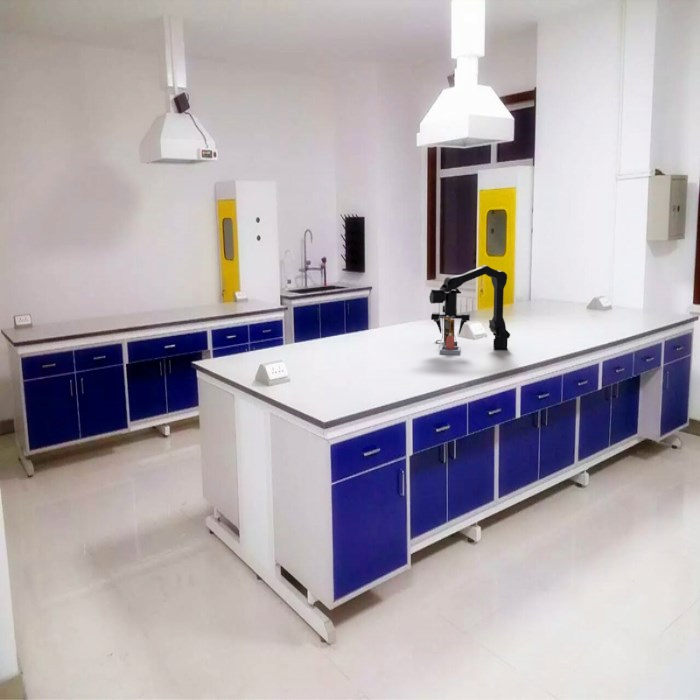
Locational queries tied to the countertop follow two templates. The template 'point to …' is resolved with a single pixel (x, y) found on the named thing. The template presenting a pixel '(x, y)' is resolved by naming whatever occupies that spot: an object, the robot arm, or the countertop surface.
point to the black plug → (454, 344)
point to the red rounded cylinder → (450, 342)
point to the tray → (455, 351)
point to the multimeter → (447, 328)
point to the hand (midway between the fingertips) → (450, 333)
